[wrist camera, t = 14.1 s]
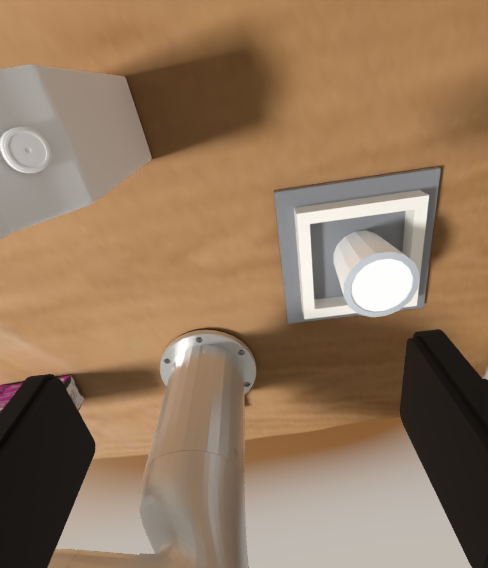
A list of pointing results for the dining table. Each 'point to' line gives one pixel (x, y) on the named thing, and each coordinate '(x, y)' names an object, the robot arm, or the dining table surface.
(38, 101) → the milk carton
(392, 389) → the dining table surface
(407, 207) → the holder tray
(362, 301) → the white cup
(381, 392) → the dining table surface
